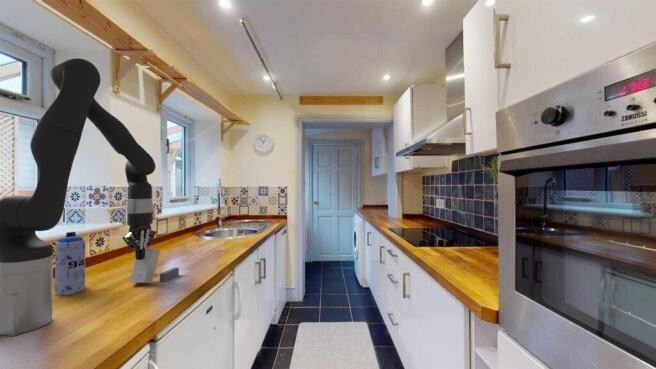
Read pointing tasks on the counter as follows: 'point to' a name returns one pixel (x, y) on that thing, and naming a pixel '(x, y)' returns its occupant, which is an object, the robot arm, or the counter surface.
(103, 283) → the counter surface
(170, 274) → the charcoal cradle
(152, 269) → the skincare box
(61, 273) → the aerosol can
